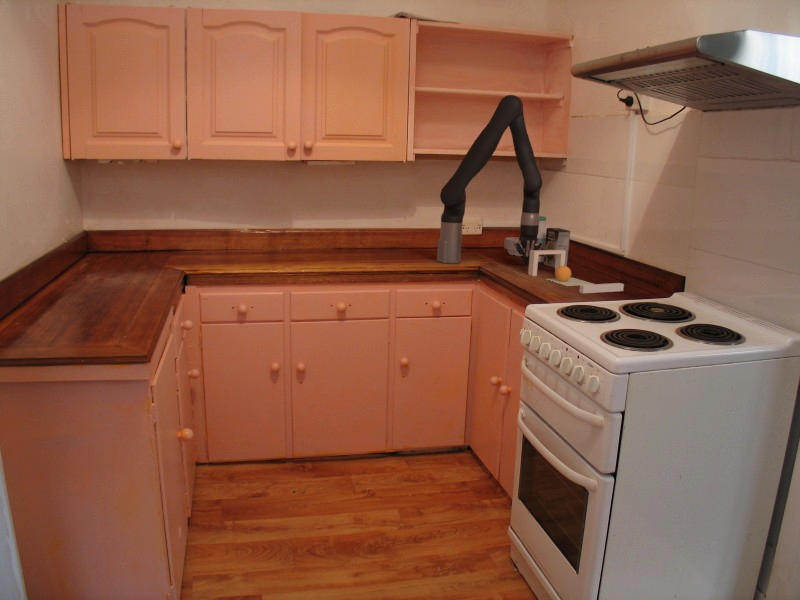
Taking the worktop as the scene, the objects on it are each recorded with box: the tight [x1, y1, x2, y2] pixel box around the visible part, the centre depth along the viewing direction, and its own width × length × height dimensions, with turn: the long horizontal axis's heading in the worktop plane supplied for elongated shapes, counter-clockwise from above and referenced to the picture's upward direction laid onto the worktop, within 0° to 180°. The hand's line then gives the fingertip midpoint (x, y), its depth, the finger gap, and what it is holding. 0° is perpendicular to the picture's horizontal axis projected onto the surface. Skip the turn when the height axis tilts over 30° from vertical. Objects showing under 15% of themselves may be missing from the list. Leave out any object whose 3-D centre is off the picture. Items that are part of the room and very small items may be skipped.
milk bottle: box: [537, 215, 547, 263], centre depth 300 cm, size 8×8×20 cm
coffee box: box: [543, 227, 571, 269], centre depth 289 cm, size 9×6×16 cm
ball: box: [554, 266, 572, 282], centre depth 255 cm, size 6×6×6 cm
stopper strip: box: [578, 282, 625, 294], centre depth 239 cm, size 18×2×2 cm, turn 114°
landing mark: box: [545, 277, 595, 287], centre depth 256 cm, size 13×13×1 cm
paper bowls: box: [503, 236, 523, 257], centre depth 318 cm, size 15×15×8 cm
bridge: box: [527, 250, 566, 277], centre depth 268 cm, size 3×15×10 cm, turn 114°
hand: (526, 265), depth 281 cm, fingers closed
